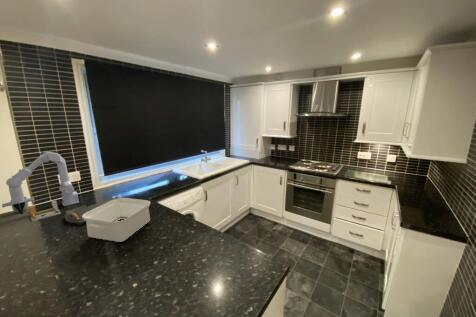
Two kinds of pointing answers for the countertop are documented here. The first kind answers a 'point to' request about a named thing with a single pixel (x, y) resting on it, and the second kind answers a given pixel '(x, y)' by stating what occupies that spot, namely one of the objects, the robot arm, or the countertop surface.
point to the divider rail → (54, 205)
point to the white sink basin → (107, 215)
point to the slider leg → (32, 211)
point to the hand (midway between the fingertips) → (21, 213)
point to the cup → (19, 206)
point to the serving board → (83, 212)
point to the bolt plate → (45, 215)
